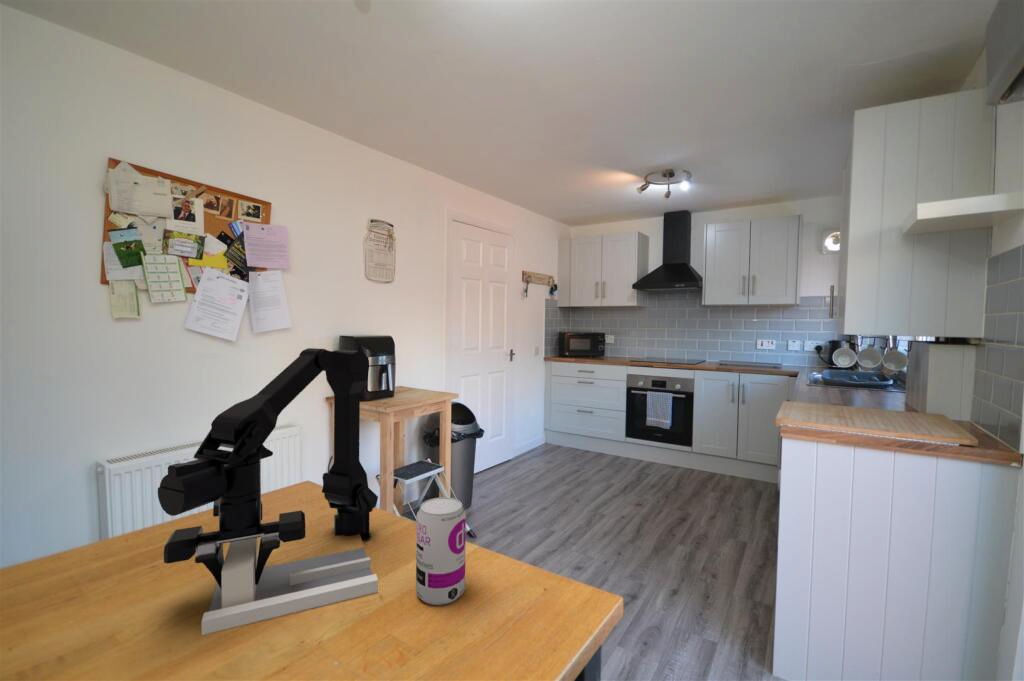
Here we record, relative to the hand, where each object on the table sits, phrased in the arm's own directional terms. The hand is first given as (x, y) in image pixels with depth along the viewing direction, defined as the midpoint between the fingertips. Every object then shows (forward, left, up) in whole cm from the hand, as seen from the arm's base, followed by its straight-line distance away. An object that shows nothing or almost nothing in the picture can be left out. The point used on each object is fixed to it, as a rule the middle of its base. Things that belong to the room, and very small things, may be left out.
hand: (240, 586), depth 71 cm
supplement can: (-30, +10, -3) cm, 32 cm away
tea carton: (0, 0, -2) cm, 2 cm away
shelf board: (-8, 0, -3) cm, 9 cm away
